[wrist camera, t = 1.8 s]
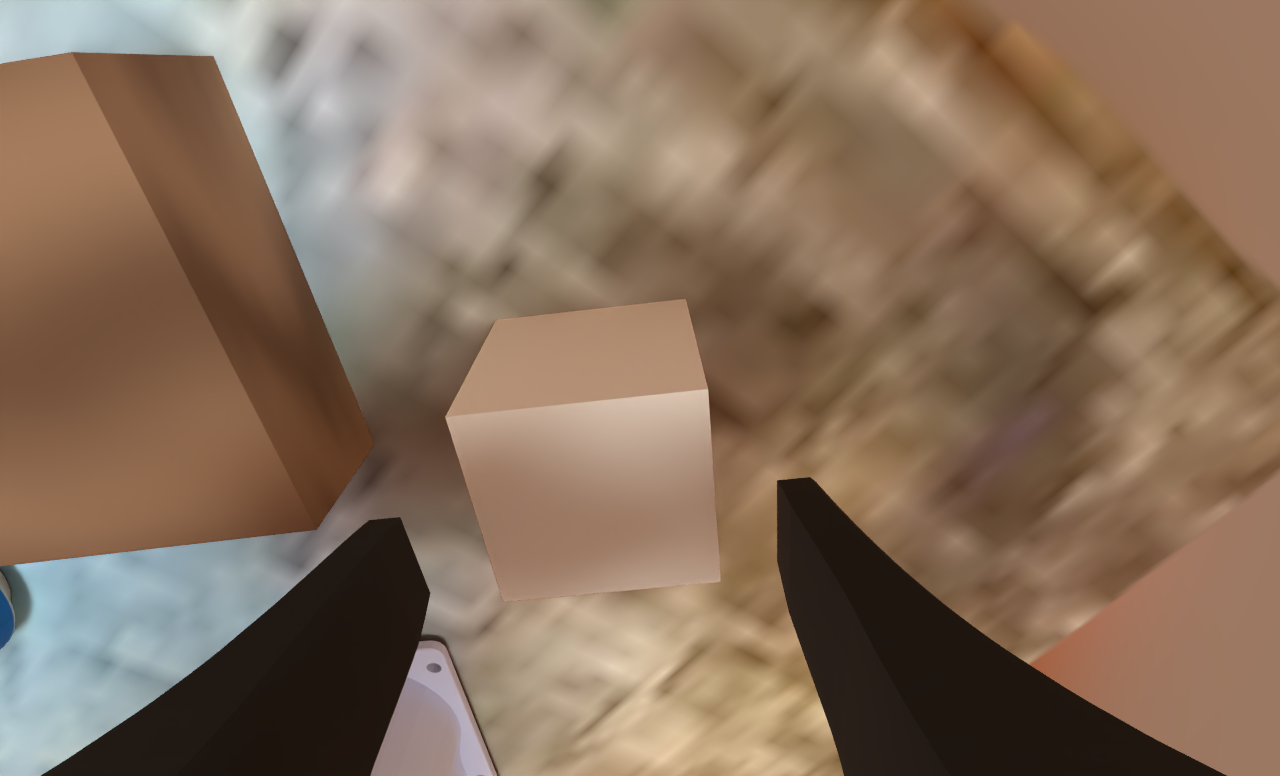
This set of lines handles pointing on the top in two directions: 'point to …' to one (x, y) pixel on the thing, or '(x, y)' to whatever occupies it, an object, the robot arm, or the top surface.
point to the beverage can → (5, 612)
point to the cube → (590, 452)
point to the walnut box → (153, 321)
